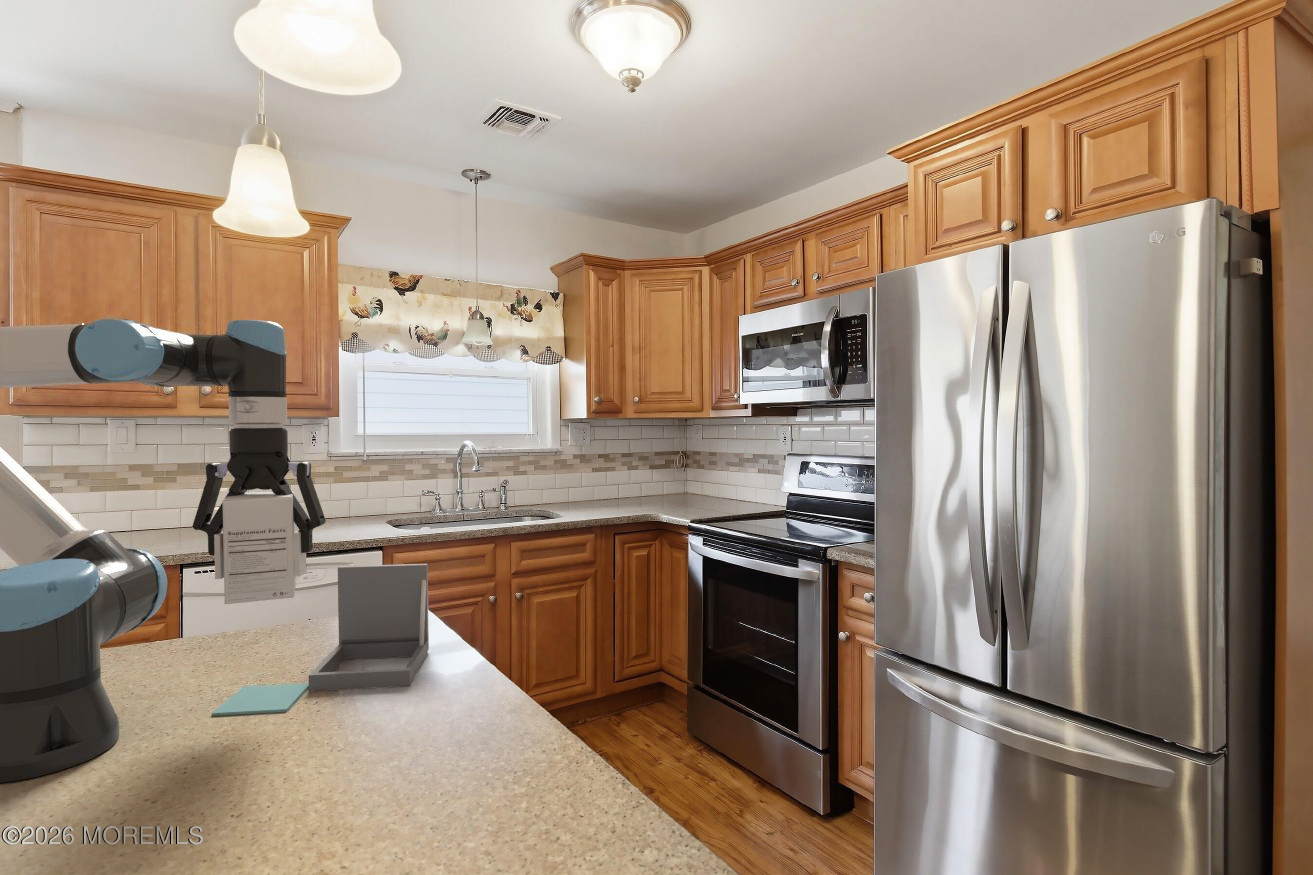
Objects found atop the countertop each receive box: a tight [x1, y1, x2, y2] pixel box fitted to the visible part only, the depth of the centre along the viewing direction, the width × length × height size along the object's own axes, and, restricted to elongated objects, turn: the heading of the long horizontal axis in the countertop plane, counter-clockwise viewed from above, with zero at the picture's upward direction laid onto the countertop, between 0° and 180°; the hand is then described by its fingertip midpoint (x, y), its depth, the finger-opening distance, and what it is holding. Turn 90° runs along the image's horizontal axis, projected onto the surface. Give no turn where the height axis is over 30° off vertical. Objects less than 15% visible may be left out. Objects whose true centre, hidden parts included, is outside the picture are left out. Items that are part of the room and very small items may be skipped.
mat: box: [211, 682, 309, 717], centre depth 105 cm, size 10×10×1 cm
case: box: [308, 563, 430, 692], centre depth 117 cm, size 15×16×16 cm
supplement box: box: [221, 490, 297, 605], centre depth 104 cm, size 9×9×15 cm
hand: (261, 575), depth 105 cm, fingers closed on supplement box, 10 cm apart
